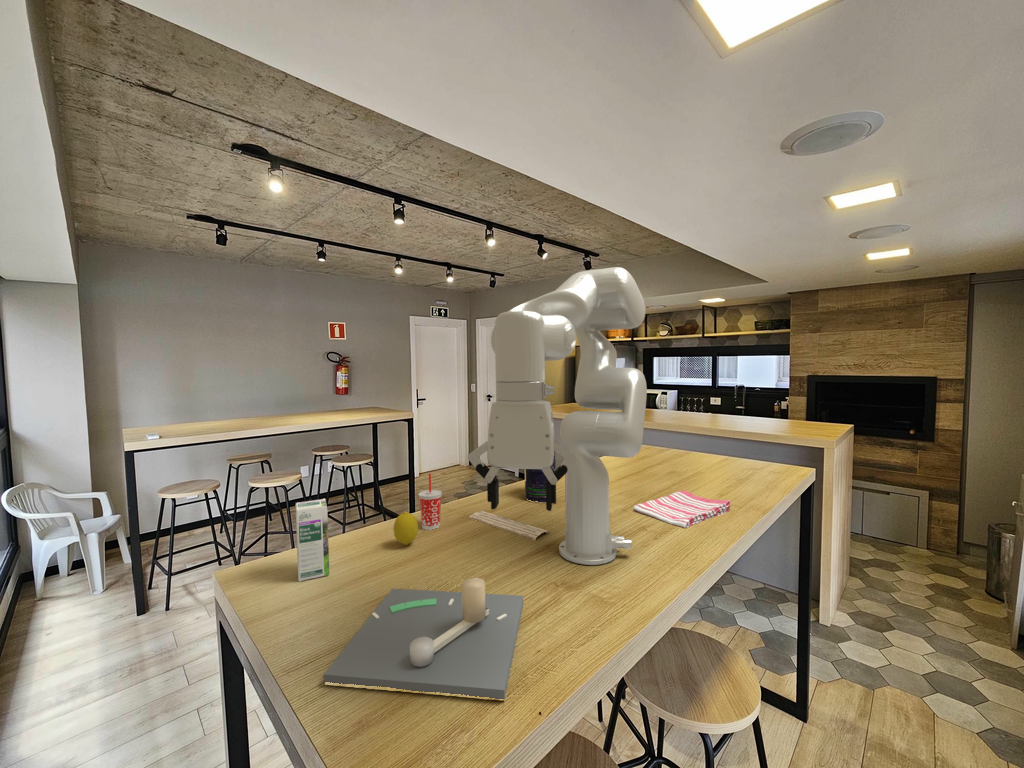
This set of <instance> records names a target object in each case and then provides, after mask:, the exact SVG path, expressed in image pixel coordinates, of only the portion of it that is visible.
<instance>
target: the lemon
mask: <svg viewBox="0 0 1024 768" xmlns="http://www.w3.org/2000/svg"><path fill="white" fill-rule="evenodd" d="M393 525H394V526H393V534H394V538H395V540H396V541H397V542H398V543H400V544H402V545H404V546H406V547H407V546H409V544H410V543H412V542H414V541H415V539H416V538H417V536H418V532H419V525H418V521H417V518H416V516H415V515H414V514H412V513H410V512H408V511H404V512H403V513H401V514H399V515H398V516H397V517H396V519H395V521H394V523H393Z"/></svg>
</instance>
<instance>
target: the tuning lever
mask: <svg viewBox="0 0 1024 768" xmlns="http://www.w3.org/2000/svg"><path fill="white" fill-rule="evenodd" d="M461 592H462V617H463V621H461V622H460V623H458V624H457V625H456V626H454V627H453V628H451V629H450V630H448V631H447V632H445V633H444V634H442V635H441V636H439V637H438V638H436V639H435V640H434V641H433V640H432V639H431V638H429V637H420V638H417V639H415V640H413V641H412V642H411V643H410V663H411V664H412V665H414V666H417V667H422V666H426V665H428V664H430V663H431V662H432V661H433V659H434V653H435V652H436V651H438V650H439V649H441V648H442V647H443V646H445V645H446V644H448V643H449V642H450V641H452V640H453V639H455V638H456V637H457V636H459V635H460V634H462V633H463V632H464V631H466V630H467V629H469V628H470V627H471V626H473V625H474V624H476V623H477V622H480V621H482V620H484V618H485V616H487V615H488V614H489V609H488V608H486V607H485V594H486V582H485V580H484V579H482V578H480V577H471V578H466V579H465V580H463V581H462V583H461Z"/></svg>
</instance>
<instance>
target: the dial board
mask: <svg viewBox="0 0 1024 768" xmlns="http://www.w3.org/2000/svg"><path fill="white" fill-rule="evenodd" d="M485 607H486V608H488V609H489V614H488V615H487V616H485V618H484V620H482V621H480V622H477V623H476V624H474V625H473V626H471V627H470V628H469V629H467V630H466V631H464V632H463V633H462V634H460V635H459V636H457V637H456V638H455V639H453V640H452V641H450V642H449V643H448V644H446V645H445V646H443V647H442V648H441V649H439V650H438V651H436V652H435V653H434V659H433V661H432V662H431V663H430V664H428V665H426V666H422V667H417V666H414V665H412V664H411V663H410V643H411V642H412V641H413V640H415V639H417V638H420V637H429V638H431V639H432V640H433V641H434V640H435V639H436V638H438V637H439V636H441V635H442V634H444V633H445V632H447V631H448V630H450V629H451V628H453V627H454V626H456V625H457V624H458V623H460V622H461V621H463V617H462V591H460V592H459V591H445V590H444V591H443V590H428V589H427V590H425V589H423V590H422V589H410V588H409V589H408V588H407V589H406V588H391V590H390V591H389V592H388V594H386V596H385V597H384V598H383V599H382V600H381V602H380V603H379V605H378V606H377V607H376V608H375V610H374V611H373V612H372V613H371V615H369V617H368V618H367V619H366V621H365V622H364V624H363V625H362V626H361V627H360V628H359V629H358V630H357V632H356V633H355V635H354V636H353V637H352V638H351V639H350V641H349V642H348V643H347V645H346V646H345V647H344V648H343V650H342V651H341V652H340V654H339V655H338V656H337V657H336V658H335V660H334V661H333V662H332V664H331V665H330V666H329V667H328V669H326V671H325V672H324V674H323V683H324V682H330V683H331V682H332V683H339V684H341V683H342V684H354V685H355V684H356V685H365V686H377V687H378V686H379V687H380V686H381V687H390V688H396V689H403V690H404V689H405V690H411V691H419V692H420V691H421V692H423V691H424V692H435V693H436V692H440V693H441V692H442V693H450V694H461V695H463V694H464V695H466V696H467V695H469V696H475V697H477V696H479V697H489V698H495V699H505V700H506V697H505V694H507V692H506V689H507V690H508V686H507V684H508V685H509V681H508V679H509V680H510V676H509V674H510V675H511V671H510V668H511V669H512V666H511V663H512V664H513V660H514V655H513V654H515V650H514V649H516V645H515V644H517V640H516V639H518V634H519V628H520V622H521V618H522V613H523V608H524V595H517V594H516V595H513V594H496V593H485ZM512 659H513V660H512Z"/></svg>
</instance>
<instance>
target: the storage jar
mask: <svg viewBox="0 0 1024 768" xmlns="http://www.w3.org/2000/svg"><path fill="white" fill-rule="evenodd" d="M556 461H557V460H556V457H555V458H554V460H553V465H552V467H553V468H554V470H556V467H557V466H556ZM547 481H548V479H547V477H546V476H545V474H544V473H543V471H542V469H525V481H524V491H525V493H524V494H525V497H526V498H527V499H528V500H531V501H538V502H546V484H547ZM525 497H524V498H525Z"/></svg>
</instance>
